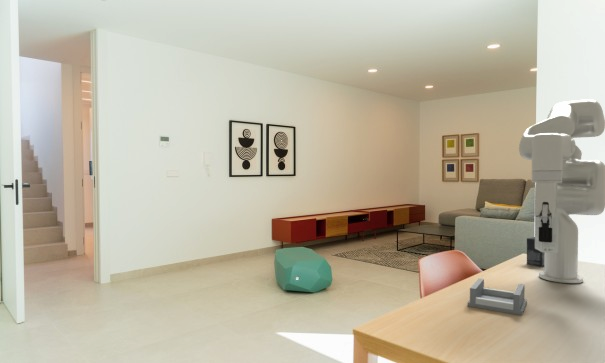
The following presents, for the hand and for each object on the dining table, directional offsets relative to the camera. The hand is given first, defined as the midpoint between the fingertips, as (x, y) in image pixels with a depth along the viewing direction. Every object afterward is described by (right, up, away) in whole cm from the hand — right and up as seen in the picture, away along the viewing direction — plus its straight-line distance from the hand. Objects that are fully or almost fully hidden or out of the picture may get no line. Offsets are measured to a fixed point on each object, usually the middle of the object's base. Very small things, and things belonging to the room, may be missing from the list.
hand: (546, 239), depth 116 cm
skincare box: (0, -4, 0) cm, 4 cm away
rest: (-16, -17, -5) cm, 24 cm away
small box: (+25, -16, +45) cm, 54 cm away
